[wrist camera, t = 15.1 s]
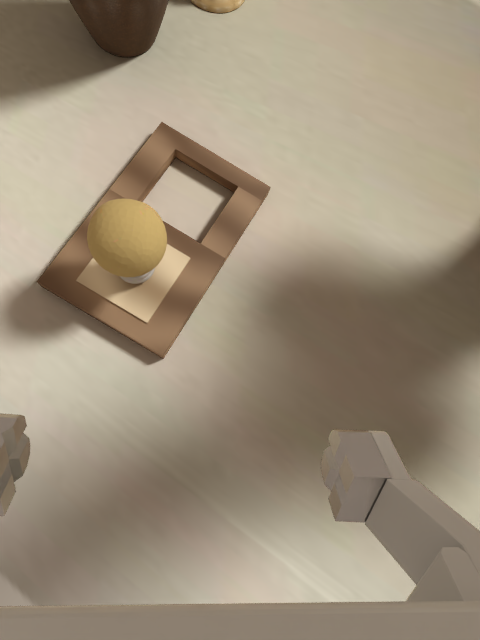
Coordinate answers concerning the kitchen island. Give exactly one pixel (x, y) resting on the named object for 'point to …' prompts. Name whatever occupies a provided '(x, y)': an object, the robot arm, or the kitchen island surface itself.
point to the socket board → (180, 256)
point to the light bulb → (127, 239)
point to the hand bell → (218, 5)
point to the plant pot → (122, 23)
